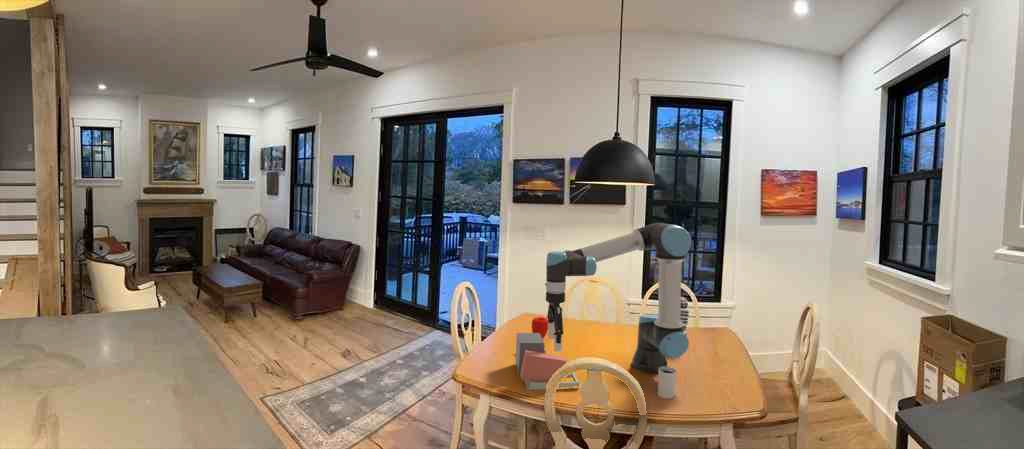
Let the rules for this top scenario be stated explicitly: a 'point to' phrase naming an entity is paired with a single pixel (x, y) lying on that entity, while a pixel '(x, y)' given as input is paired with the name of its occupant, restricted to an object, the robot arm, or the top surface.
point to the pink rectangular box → (540, 366)
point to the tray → (543, 384)
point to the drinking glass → (666, 382)
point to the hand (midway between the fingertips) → (554, 344)
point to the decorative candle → (684, 312)
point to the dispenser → (527, 346)
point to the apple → (540, 326)
